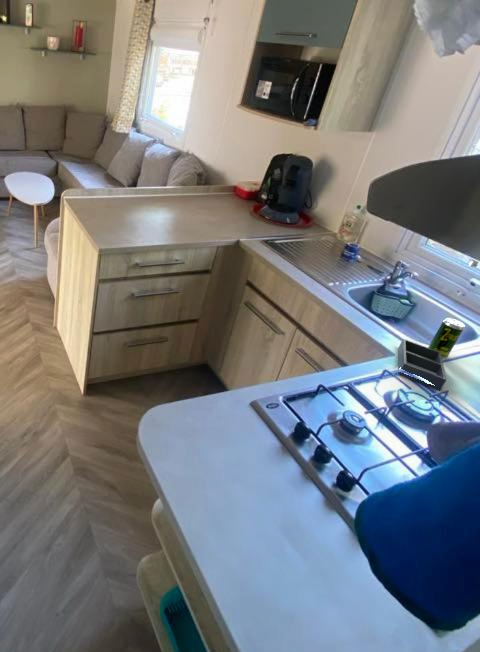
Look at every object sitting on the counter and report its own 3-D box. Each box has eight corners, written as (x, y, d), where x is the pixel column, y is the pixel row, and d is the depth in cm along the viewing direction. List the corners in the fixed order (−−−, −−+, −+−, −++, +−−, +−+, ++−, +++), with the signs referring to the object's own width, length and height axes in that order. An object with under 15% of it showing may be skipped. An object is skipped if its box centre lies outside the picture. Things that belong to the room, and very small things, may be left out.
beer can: (424, 346, 139) (442, 315, 134) (443, 351, 137) (461, 320, 133) (430, 355, 134) (448, 323, 129) (449, 360, 133) (468, 329, 128)
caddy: (434, 362, 130) (441, 352, 129) (439, 391, 117) (446, 380, 115) (397, 348, 135) (403, 338, 133) (398, 374, 122) (404, 363, 120)
